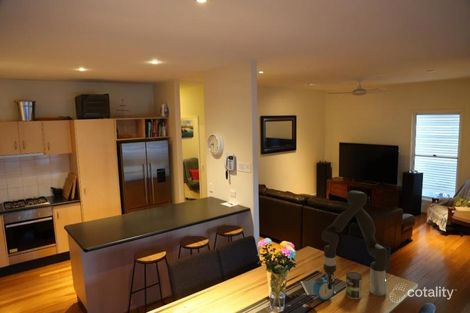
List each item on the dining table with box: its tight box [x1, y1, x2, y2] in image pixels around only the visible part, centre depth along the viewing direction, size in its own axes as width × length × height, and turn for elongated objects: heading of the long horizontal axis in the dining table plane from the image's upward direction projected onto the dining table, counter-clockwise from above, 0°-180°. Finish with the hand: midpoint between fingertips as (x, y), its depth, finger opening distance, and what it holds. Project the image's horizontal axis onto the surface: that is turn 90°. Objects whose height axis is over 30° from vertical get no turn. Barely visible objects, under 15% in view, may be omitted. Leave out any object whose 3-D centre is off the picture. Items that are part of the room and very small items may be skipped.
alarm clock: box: [313, 276, 336, 302], centre depth 213 cm, size 13×6×15 cm, turn 108°
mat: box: [300, 279, 337, 297], centre depth 227 cm, size 20×18×1 cm
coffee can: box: [345, 271, 363, 300], centre depth 216 cm, size 10×10×14 cm
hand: (329, 288), depth 202 cm, fingers closed
